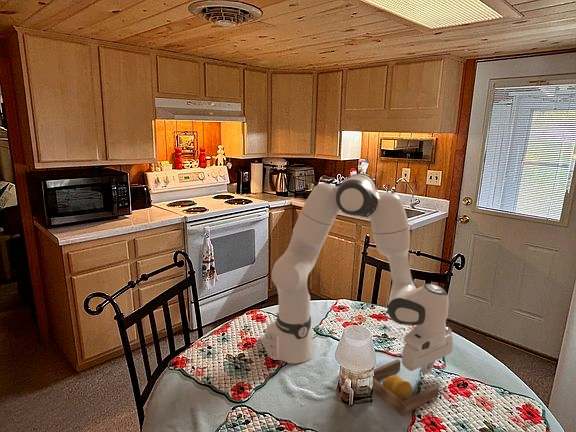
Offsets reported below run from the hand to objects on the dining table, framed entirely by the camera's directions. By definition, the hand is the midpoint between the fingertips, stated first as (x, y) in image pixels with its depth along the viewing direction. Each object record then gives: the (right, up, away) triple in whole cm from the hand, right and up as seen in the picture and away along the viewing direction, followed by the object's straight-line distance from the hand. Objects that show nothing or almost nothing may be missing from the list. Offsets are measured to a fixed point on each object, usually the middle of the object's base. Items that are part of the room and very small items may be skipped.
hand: (426, 372), depth 128 cm
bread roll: (-11, -4, -5) cm, 13 cm away
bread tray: (-10, -4, -5) cm, 11 cm away
